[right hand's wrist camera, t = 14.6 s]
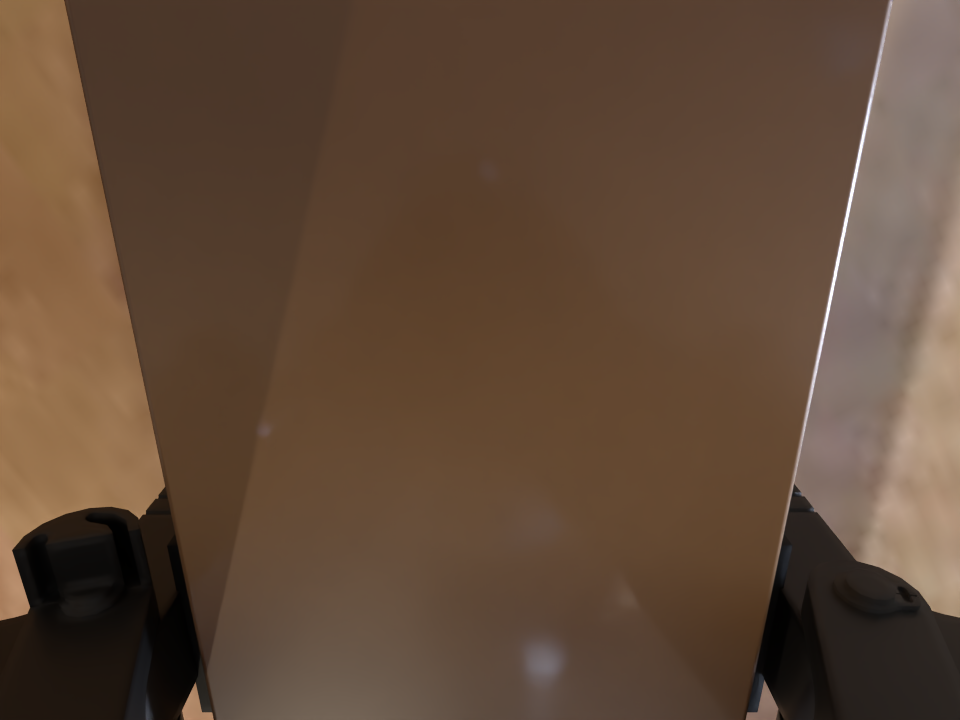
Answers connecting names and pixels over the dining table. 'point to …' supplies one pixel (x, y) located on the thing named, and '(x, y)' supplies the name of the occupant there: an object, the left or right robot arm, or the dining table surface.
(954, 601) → the dining table surface
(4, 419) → the dining table surface
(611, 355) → the post
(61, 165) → the dining table surface
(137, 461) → the dining table surface
